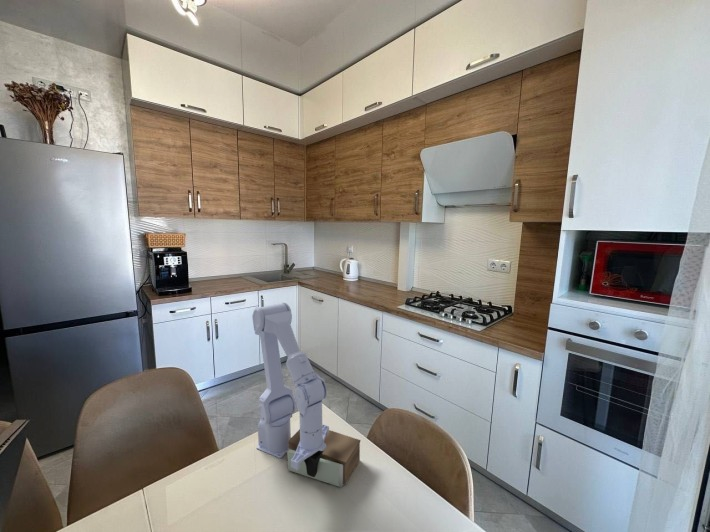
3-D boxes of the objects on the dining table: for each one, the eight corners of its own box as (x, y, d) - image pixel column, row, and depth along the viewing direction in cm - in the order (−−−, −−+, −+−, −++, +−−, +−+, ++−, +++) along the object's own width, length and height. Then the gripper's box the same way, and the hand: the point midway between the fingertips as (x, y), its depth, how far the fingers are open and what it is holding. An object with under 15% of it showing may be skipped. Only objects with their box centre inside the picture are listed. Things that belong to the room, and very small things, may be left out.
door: (343, 484, 76) (343, 464, 75) (340, 490, 74) (340, 470, 73) (290, 467, 81) (289, 448, 81) (286, 472, 79) (285, 453, 79)
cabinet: (288, 461, 84) (288, 441, 83) (306, 441, 92) (306, 422, 91) (346, 485, 76) (345, 462, 75) (360, 460, 84) (360, 440, 83)
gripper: (307, 449, 66) (308, 503, 68) (338, 414, 80) (338, 460, 81) (283, 440, 69) (284, 492, 71) (316, 407, 83) (317, 452, 84)
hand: (312, 474), depth 76 cm, fingers closed
